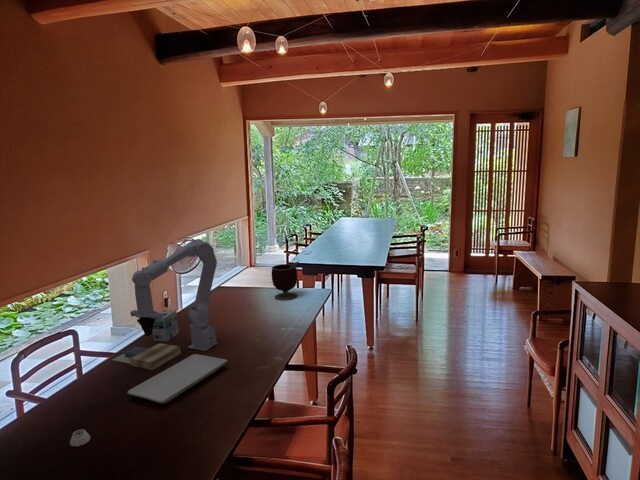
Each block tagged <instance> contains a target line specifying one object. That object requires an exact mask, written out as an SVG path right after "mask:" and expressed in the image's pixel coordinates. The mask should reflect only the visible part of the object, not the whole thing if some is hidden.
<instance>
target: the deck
mask: <svg viewBox="0 0 640 480" xmlns="http://www.w3.org/2000/svg"><path fill="white" fill-rule="evenodd" d="M181 354H182V353H181V346H177V345H173V344H172V345H171V344H166V343H161V342H159V343H157V344H155V345H153V346H151V347H149V348H148V349H147V350H145V351H143V352H141V353H139V354H137V355H136V356H134V357H132V358H130V362H131V364H130V366H131V367H136V368H142V369H145V370H151V371H153V370H155V369H156V368H159V367H161V366H162V365H163V364H165V363H167V362H169V361H171V360H172V359H174V358H176V357H178V356H179V355H181Z"/></svg>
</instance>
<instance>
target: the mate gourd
mask: <svg viewBox="0 0 640 480" xmlns="http://www.w3.org/2000/svg"><path fill="white" fill-rule="evenodd" d="M297 264H300V261H299V260H298V261H296V262H293V263H284V264H283V263H282V264H276V265H273V266H272V267H271V281H272V285H273V286H274V288H275V289H276V290H278V291H281V292H282V293H278V294H276V295H275V296H274V299H275V300H276V301H282V302H283V301H284V302H285V301H291V300H295V299H297V297H298V294H297V293H294V292H289V291H291V290H292V289H294V288H295V287H296V286H297V283H298V270H297V267H296V265H297Z"/></svg>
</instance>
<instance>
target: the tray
mask: <svg viewBox="0 0 640 480" xmlns="http://www.w3.org/2000/svg"><path fill="white" fill-rule="evenodd" d="M226 363H228V359H225V358H220V357H215V356H209V355H205V354H204V355H203V354H198V353H197V354H196V353H195V354H191V355H190V356H187V357H186V358H185V359H182V360H181V361H179V362H177V363H175V364H173V365H171V366H170V367H167V368H166V369H165V370H163V371H162V372H160V373H158V374H155V375H154V376H152V377H150V378H148V379H147V380H145V381H143V382H142V383H140V384H139V383H138V385H136V386H134V387H132V388H131V389H129V390H128V391H127V393H126V394H128V395H130V396H134V397H136V398H139V399H140V398H141V399H144V400H147V401H148V400H149V401H151V402H155V403H159V404H163V405H164V404H167V403H169V402H170V401H172V400H173V399H175V398H176V397H178V396H180V395H181V394H183V393H184V392H186V391H187V390H189V389H190V388H192V387H194V386H196V385H197V384H199V383H200V382H201V381H203V380H205V379H206V378H208V377H209V376H211V375H213V374H214V373H215V372H217V371H218V370H220V368H221V367H223V366H224V365H225V364H226Z"/></svg>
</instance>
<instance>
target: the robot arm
mask: <svg viewBox="0 0 640 480" xmlns="http://www.w3.org/2000/svg"><path fill="white" fill-rule="evenodd" d="M214 250H215V249H214V248H213V246H212V245H211V244H210V243H208V242H207V241H204V240H202V239H200V238H199V239H194V240H192V241H190V242H188V243H186V244H185V245H184V246H182V247H181V248H179V249H178V250H176V251H175V252H173V253H172V254H170V255H169V256H167V257H166V258H164V259H154V260H152V262H151V263H150V264H148V265H147V266H145V267H144V266H142V268H141V270H136V271H135V272H133V275H132V276H131V281H132V283H133V284H134V296H135V302H136V309H133V310H131V311H130V317H136V318H138V319H136V322H137V323H138V324H139V326H140V327H141V329H142V331H143V332H144V335H145V336H146V337H150V336H151V335H152V336H153V331H152V330H153V325H154V322H155V320H156V319H157V320H160V319H162V314H161V313H160V312H157V311H155V310H154V305H153V297H152V290H151V289H152V288H151V286H150V285H151V283H152V281H154V280H156V279H157V278H159V277H160V276H162V275H164V274H166V273H167V272H168V270H169V268H170V267H171V266H173V265H174V264H176V263H179V262H180V261H181V260H183V259H185V258H188V257H190V258H192V257H193V258H194V257H196V256H197V257H198V258H199V260H200V262H201V263H202V264H203V265H202V269H201V272H200V273H201V274H200V278H199V282H198V288H197V291H196V296H195V300H194V302H193V303H192V304H191V308H190V309H189V311H187V318H188V320H189V321H190V324H189V329H190V336H191V337H190V338H191V344H190V345H188V346H187V349H193V350H199V351H204V352H205V351H208V350H209V349H211V348H213V347H214V346H216V345H218V342H217V336H216V329H215V327H214V326H211V325H210V324H209V323H210V316H209V312H210V311H209V310H210V309H209V304H208V303H209V299H210V295H211V291H212V287H213V282H214V278H215V273H216V269H217V264H218V261H217V257H216V254H215V251H214Z"/></svg>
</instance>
